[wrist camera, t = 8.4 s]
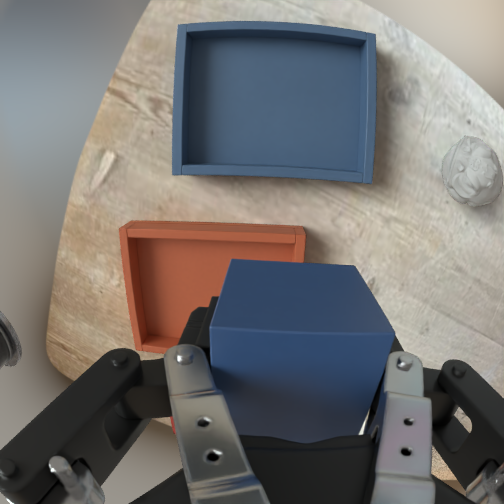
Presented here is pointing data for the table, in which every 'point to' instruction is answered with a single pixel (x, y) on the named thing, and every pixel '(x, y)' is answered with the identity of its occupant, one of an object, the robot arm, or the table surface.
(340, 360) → the blue block
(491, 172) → the frog figurine
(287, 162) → the blue tray
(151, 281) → the orange tray
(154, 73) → the table surface
